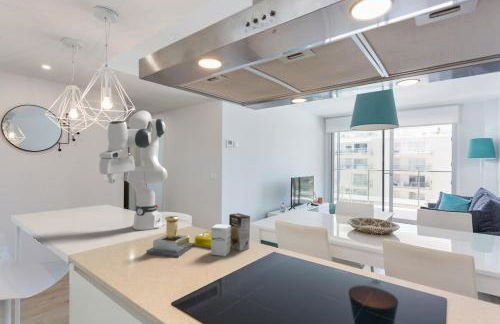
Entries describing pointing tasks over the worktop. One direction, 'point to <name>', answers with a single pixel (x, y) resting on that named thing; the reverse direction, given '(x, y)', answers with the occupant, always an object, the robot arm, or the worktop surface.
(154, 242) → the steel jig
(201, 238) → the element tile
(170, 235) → the brass bushing
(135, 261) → the worktop surface
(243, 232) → the coffee box
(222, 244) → the supplement box
